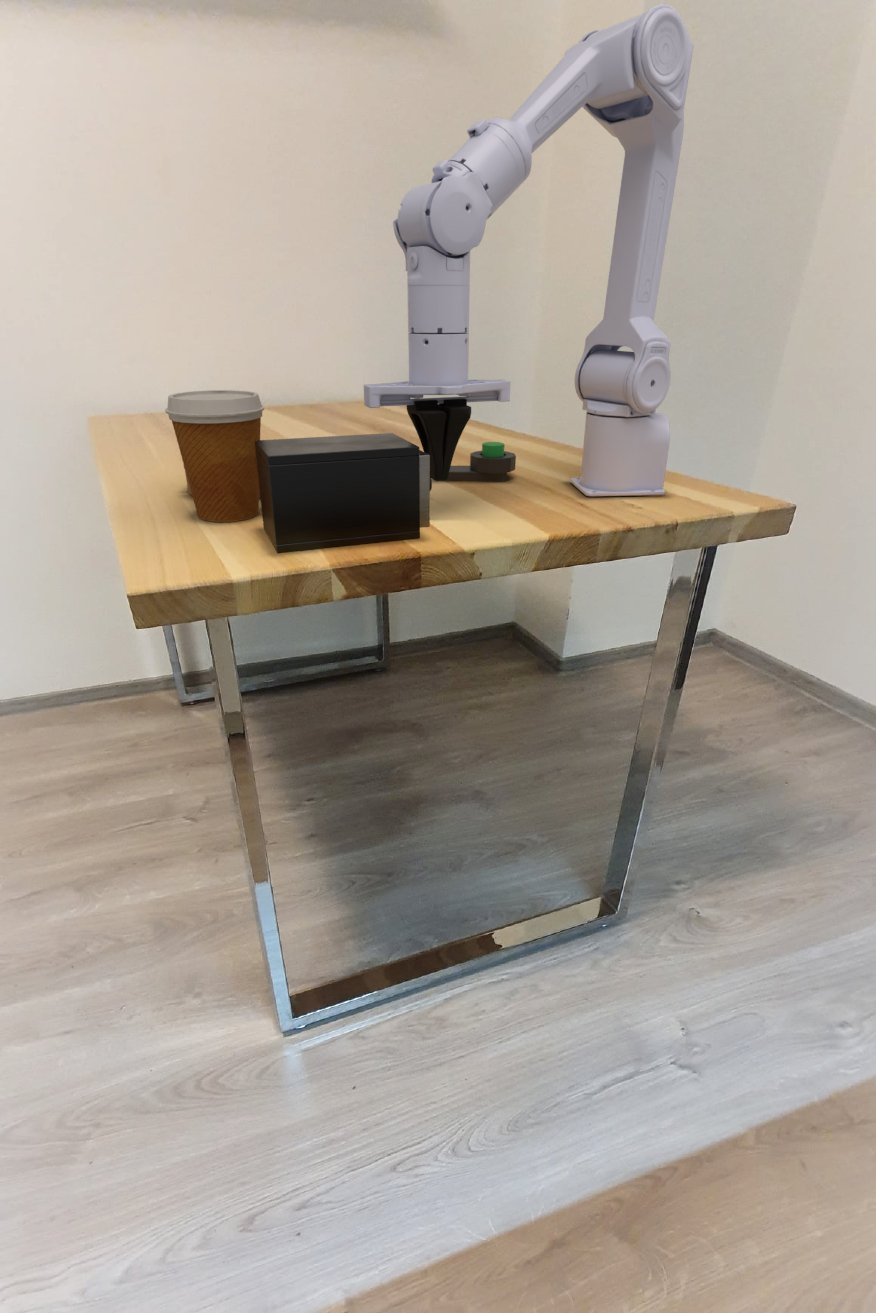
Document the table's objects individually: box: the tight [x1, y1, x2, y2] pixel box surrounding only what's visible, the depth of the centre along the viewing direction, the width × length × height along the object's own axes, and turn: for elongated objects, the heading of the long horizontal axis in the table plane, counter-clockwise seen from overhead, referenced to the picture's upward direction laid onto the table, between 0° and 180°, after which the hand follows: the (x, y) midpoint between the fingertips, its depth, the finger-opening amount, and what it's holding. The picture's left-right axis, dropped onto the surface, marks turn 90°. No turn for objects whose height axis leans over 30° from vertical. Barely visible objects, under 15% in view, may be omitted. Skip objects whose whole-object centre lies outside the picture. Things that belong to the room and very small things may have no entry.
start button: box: [481, 441, 505, 457], centre depth 92 cm, size 3×3×2 cm
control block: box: [438, 450, 517, 482], centre depth 93 cm, size 10×6×3 cm, turn 90°
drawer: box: [419, 449, 433, 529], centre depth 70 cm, size 14×7×7 cm, turn 110°
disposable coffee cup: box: [164, 389, 265, 523], centre depth 74 cm, size 10×10×12 cm
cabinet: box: [255, 432, 421, 554], centre depth 69 cm, size 14×8×9 cm, turn 110°
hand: (438, 478), depth 74 cm, fingers closed
